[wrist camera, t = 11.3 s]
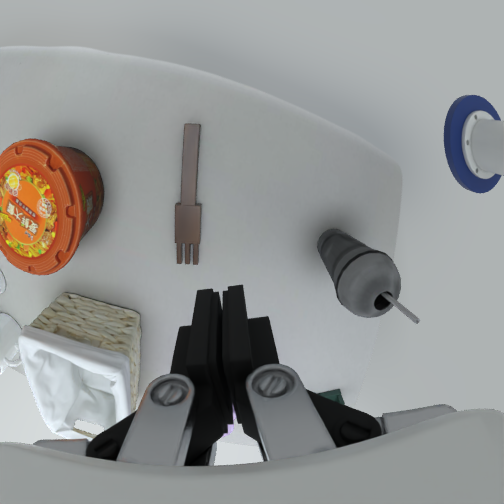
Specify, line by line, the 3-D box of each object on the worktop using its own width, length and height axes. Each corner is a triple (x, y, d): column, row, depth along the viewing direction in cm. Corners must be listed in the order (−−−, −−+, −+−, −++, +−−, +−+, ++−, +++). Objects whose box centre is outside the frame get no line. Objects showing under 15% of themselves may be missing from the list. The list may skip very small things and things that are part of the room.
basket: (59, 279, 38) (10, 333, 24) (151, 305, 41) (125, 375, 27) (71, 379, 46) (47, 432, 32) (144, 400, 49) (131, 461, 35)
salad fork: (206, 124, 32) (205, 124, 31) (199, 262, 39) (199, 265, 38) (180, 124, 32) (178, 123, 31) (176, 260, 39) (175, 264, 37)
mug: (42, 354, 44) (22, 387, 34) (2, 338, 42) (-19, 366, 33) (34, 323, 41) (9, 355, 32) (-7, 308, 39) (-32, 334, 30)
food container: (23, 230, 34) (-19, 255, 25) (36, 128, 29) (-12, 131, 19) (104, 259, 38) (72, 297, 28) (127, 148, 32) (91, 154, 22)
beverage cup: (300, 233, 38) (360, 318, 20) (347, 210, 38) (436, 274, 19) (318, 276, 41) (375, 373, 23) (361, 254, 40) (440, 334, 22)
